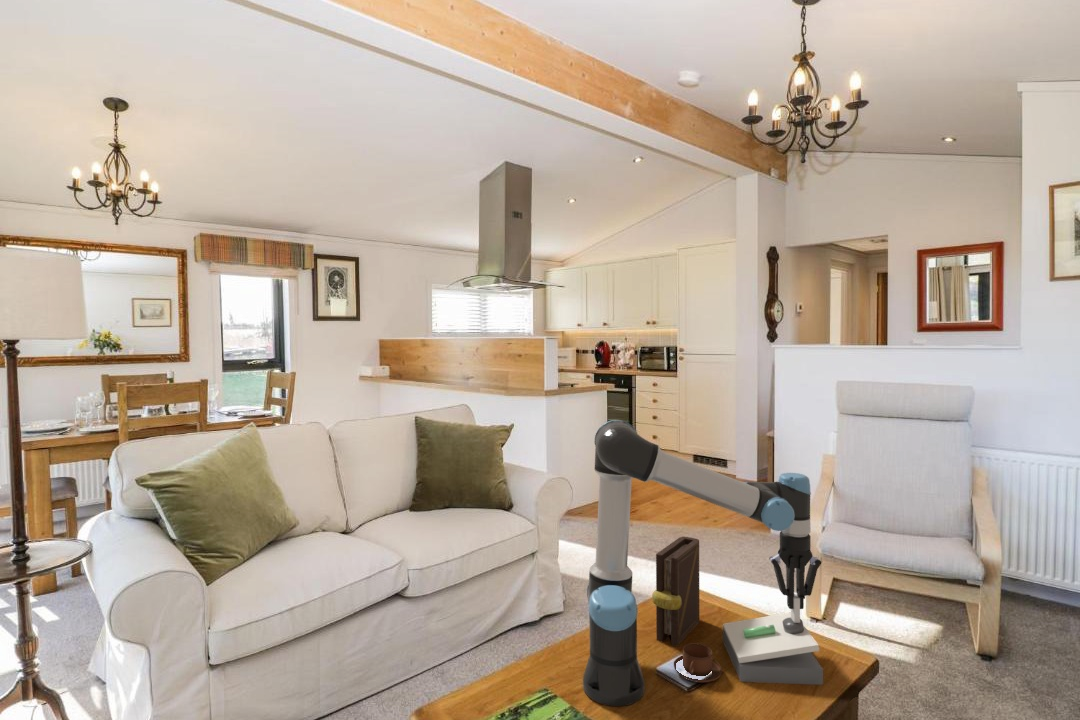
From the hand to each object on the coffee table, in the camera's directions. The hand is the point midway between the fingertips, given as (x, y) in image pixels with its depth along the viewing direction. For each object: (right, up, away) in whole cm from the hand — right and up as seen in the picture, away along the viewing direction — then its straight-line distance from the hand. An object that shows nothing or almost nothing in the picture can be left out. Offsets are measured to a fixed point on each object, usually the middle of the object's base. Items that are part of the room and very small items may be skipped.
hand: (795, 620), depth 155 cm
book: (-27, -11, +18) cm, 34 cm away
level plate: (-7, -5, +1) cm, 9 cm away
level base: (-7, -12, +1) cm, 13 cm away
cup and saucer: (-27, -12, -4) cm, 30 cm away
